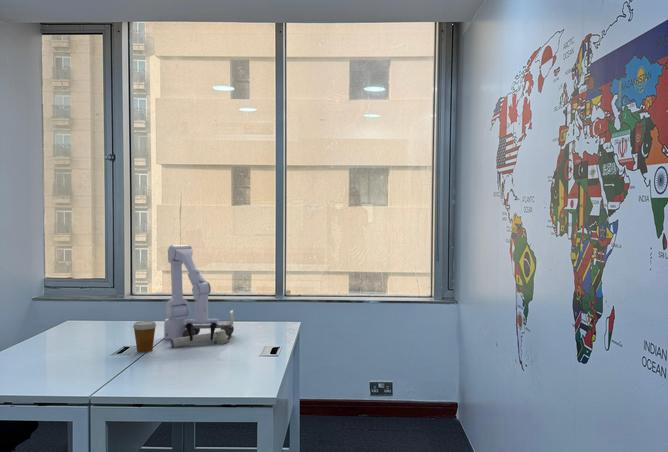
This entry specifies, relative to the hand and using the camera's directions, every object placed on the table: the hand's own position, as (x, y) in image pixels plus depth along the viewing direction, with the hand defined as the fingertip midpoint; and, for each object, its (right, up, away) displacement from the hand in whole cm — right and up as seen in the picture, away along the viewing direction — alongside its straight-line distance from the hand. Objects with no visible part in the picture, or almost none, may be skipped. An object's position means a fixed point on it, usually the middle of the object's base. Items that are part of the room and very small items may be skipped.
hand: (201, 340), depth 250 cm
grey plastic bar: (-2, -3, +4) cm, 5 cm away
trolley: (0, -2, +16) cm, 16 cm away
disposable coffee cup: (-23, -3, -8) cm, 24 cm away
